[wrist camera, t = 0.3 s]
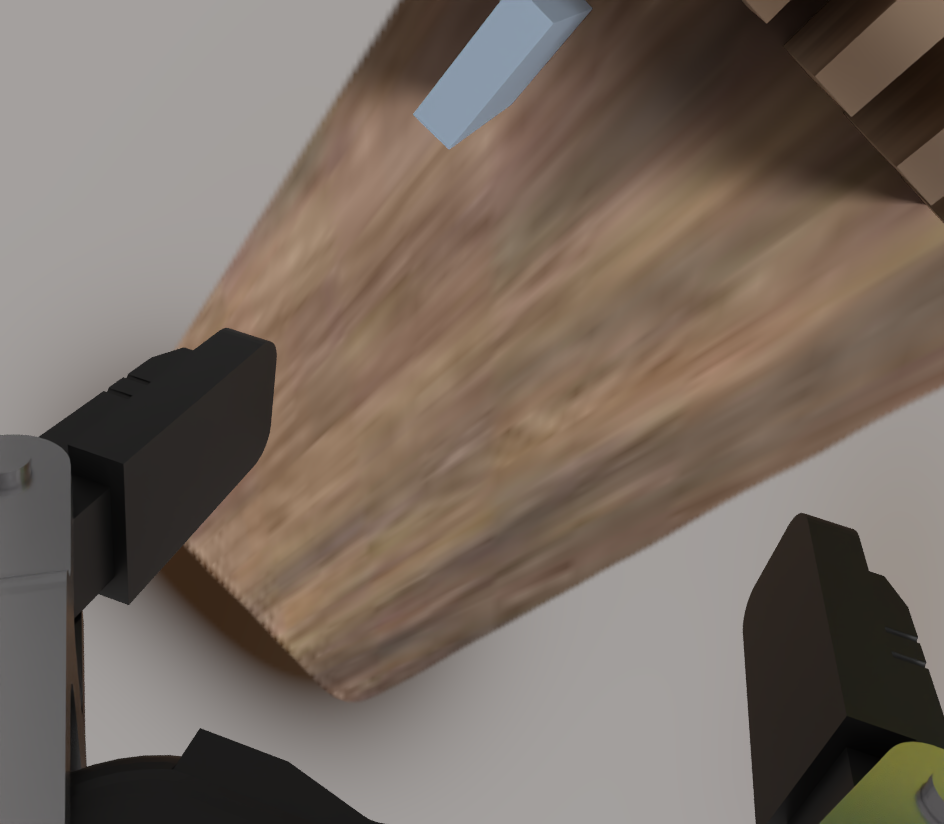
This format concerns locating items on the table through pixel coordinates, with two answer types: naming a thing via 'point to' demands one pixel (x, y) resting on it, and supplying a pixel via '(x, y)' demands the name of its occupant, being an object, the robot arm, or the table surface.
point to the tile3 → (865, 45)
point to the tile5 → (940, 208)
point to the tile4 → (911, 123)
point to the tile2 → (765, 8)
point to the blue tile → (498, 65)
